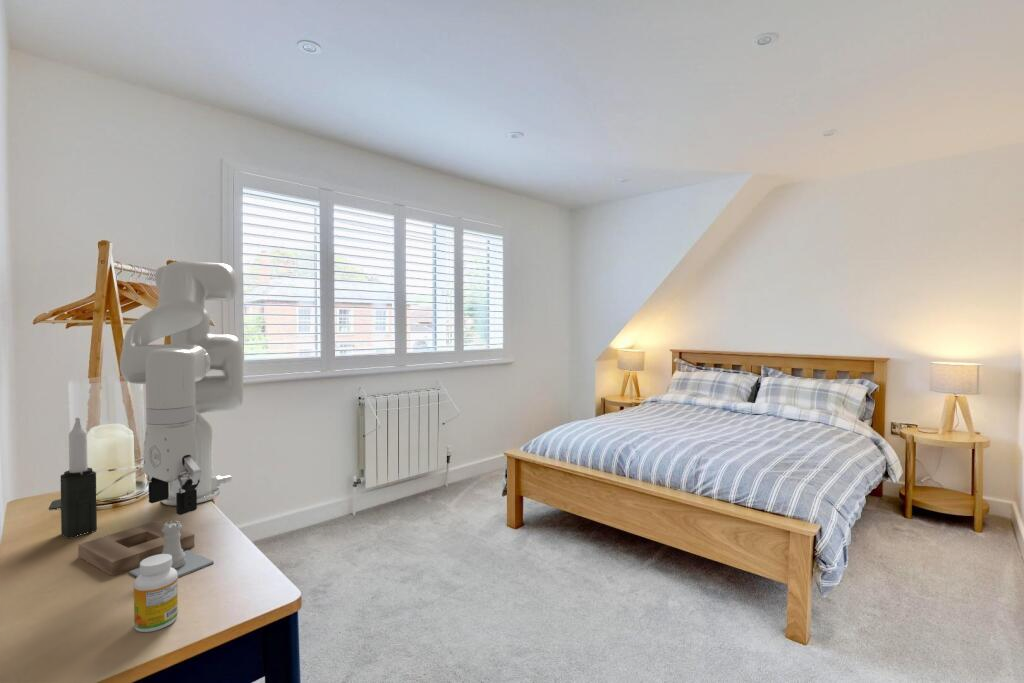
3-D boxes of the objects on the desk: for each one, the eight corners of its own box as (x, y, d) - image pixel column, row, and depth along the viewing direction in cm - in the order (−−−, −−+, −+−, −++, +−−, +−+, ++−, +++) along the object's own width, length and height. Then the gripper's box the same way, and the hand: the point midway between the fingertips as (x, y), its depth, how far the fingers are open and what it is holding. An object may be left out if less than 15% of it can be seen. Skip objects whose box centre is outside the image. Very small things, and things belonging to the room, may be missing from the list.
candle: (68, 539, 104) (66, 420, 103) (59, 533, 106) (57, 417, 106) (98, 530, 108) (97, 416, 107) (89, 525, 111) (87, 414, 110)
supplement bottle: (135, 619, 76) (134, 557, 76) (177, 608, 79) (177, 548, 79) (133, 637, 72) (132, 571, 72) (178, 625, 75) (177, 561, 75)
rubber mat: (188, 552, 99) (188, 550, 99) (213, 563, 94) (213, 561, 94) (129, 573, 90) (129, 571, 90) (154, 586, 86) (154, 584, 86)
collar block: (159, 531, 108) (158, 520, 108) (194, 546, 101) (194, 534, 101) (78, 557, 96) (78, 544, 96) (112, 576, 89) (112, 562, 89)
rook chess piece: (171, 572, 90) (171, 529, 89) (151, 570, 91) (151, 526, 90) (192, 561, 94) (192, 519, 94) (172, 558, 95) (172, 517, 95)
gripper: (124, 413, 92) (126, 503, 93) (174, 425, 84) (175, 524, 85) (169, 407, 99) (170, 491, 100) (219, 418, 90) (219, 510, 91)
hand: (172, 506), depth 92 cm, fingers open, 9 cm apart
